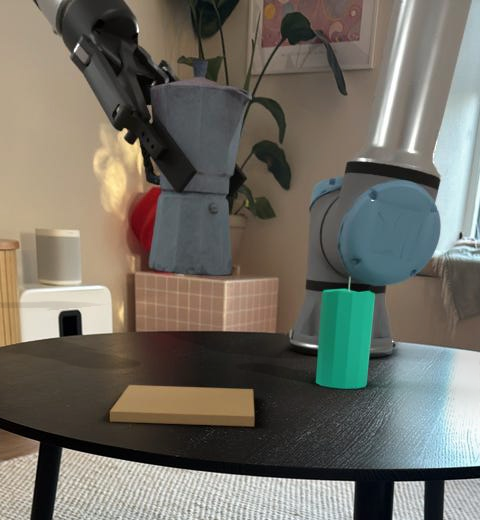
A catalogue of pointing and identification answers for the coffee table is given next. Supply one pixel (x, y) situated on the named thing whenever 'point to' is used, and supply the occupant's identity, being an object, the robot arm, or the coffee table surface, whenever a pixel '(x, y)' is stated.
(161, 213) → the moka pot
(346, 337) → the candle
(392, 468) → the coffee table surface
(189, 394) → the cork trivet
